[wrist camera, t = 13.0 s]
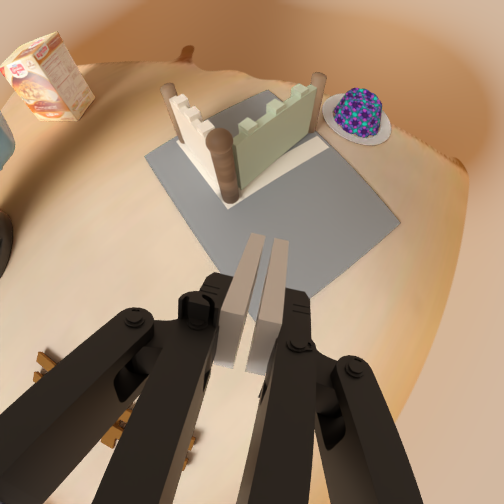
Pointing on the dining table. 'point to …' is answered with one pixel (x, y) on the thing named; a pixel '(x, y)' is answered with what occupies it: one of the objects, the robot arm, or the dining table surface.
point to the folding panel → (276, 129)
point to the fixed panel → (189, 126)
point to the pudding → (357, 116)
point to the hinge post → (223, 163)
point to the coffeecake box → (48, 79)
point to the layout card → (278, 206)
